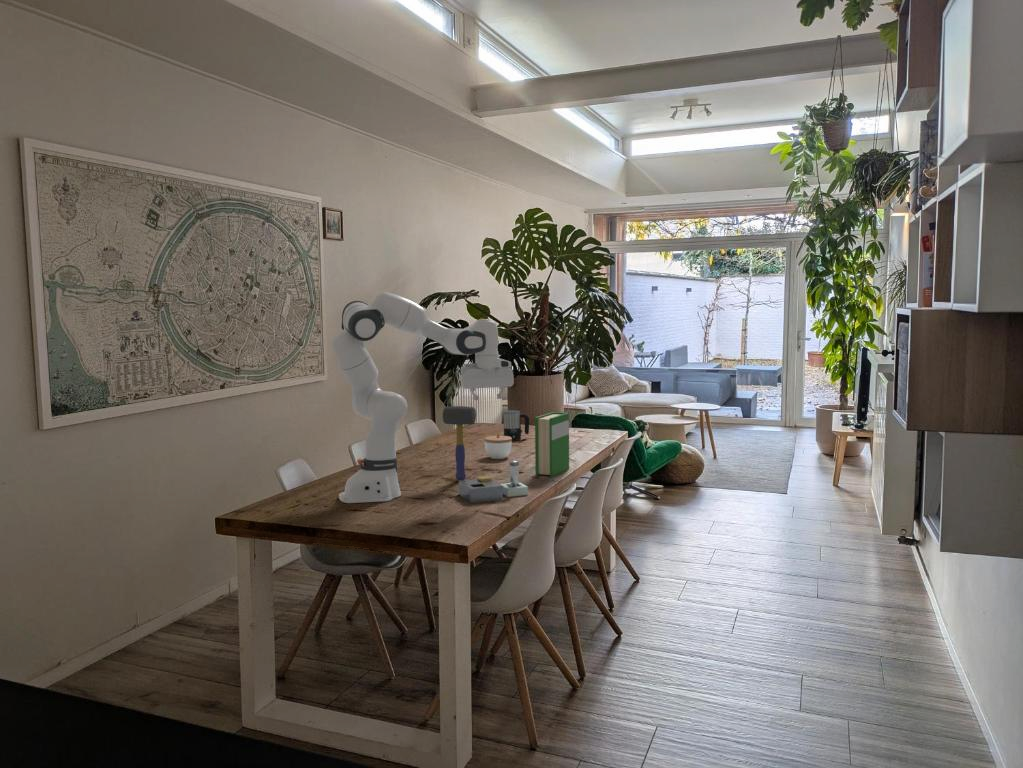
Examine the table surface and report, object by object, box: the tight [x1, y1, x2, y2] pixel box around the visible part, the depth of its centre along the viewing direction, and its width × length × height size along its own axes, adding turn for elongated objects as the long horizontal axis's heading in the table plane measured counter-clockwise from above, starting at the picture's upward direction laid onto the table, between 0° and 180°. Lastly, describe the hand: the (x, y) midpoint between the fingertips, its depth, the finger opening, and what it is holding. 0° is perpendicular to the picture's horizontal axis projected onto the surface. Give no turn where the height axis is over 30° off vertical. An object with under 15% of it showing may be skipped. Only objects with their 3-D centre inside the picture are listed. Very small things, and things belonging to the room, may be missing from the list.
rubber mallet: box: [442, 405, 477, 482], centre depth 305 cm, size 12×8×30 cm, turn 77°
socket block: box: [458, 478, 504, 504], centre depth 280 cm, size 12×14×5 cm
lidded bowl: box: [483, 433, 513, 460], centre depth 353 cm, size 13×13×11 cm
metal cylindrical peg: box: [508, 459, 520, 487], centre depth 284 cm, size 4×4×12 cm
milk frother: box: [502, 409, 530, 441], centre depth 405 cm, size 14×16×15 cm
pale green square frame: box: [499, 481, 529, 498], centre depth 285 cm, size 8×8×3 cm
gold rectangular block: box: [476, 475, 493, 482], centre depth 285 cm, size 4×4×6 cm
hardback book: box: [534, 411, 570, 478], centre depth 320 cm, size 18×7×24 cm, turn 153°
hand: (487, 399), depth 290 cm, fingers open, 8 cm apart
